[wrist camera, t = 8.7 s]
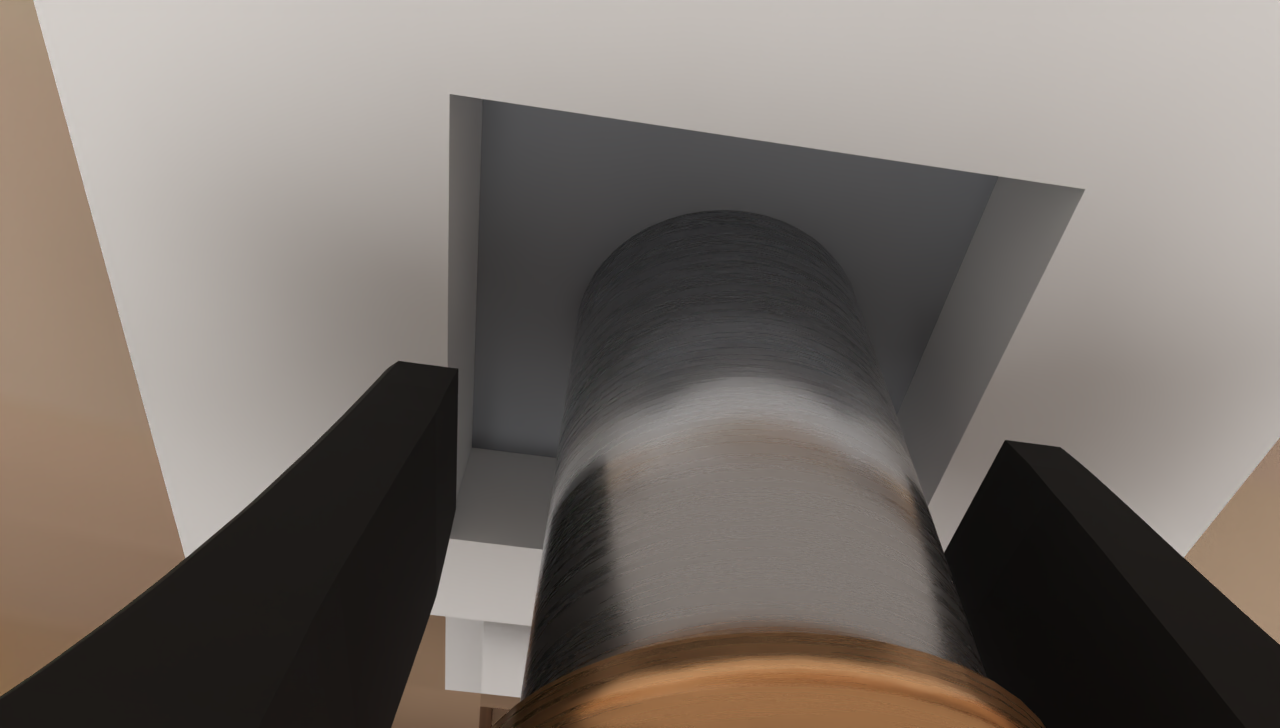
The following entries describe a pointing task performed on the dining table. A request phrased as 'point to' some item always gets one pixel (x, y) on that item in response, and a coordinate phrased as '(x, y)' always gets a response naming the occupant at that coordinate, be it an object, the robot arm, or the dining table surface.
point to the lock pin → (740, 508)
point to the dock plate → (674, 186)
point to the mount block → (430, 715)
